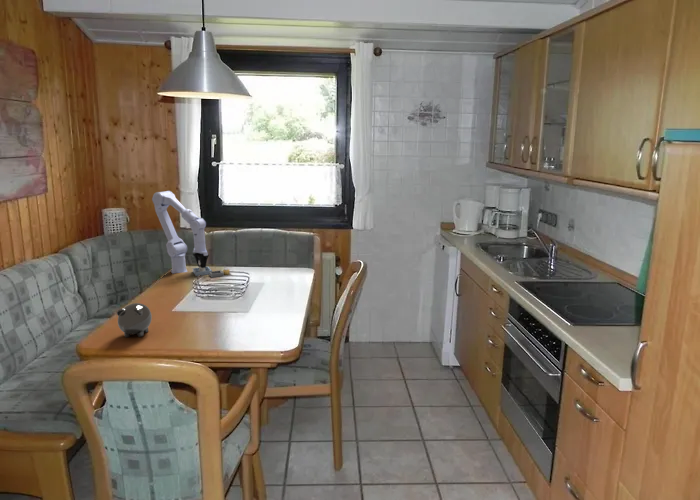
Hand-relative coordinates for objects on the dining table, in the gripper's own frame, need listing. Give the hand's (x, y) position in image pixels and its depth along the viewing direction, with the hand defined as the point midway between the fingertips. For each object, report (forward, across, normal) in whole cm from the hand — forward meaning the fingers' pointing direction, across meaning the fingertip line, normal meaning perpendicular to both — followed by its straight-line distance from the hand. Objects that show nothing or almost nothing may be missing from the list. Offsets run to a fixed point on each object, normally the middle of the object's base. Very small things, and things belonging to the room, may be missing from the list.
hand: (201, 267), depth 283 cm
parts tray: (+4, 0, 0) cm, 4 cm away
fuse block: (+4, +12, +5) cm, 13 cm away
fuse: (+3, 0, 0) cm, 3 cm away
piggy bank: (+4, +71, -55) cm, 90 cm away
